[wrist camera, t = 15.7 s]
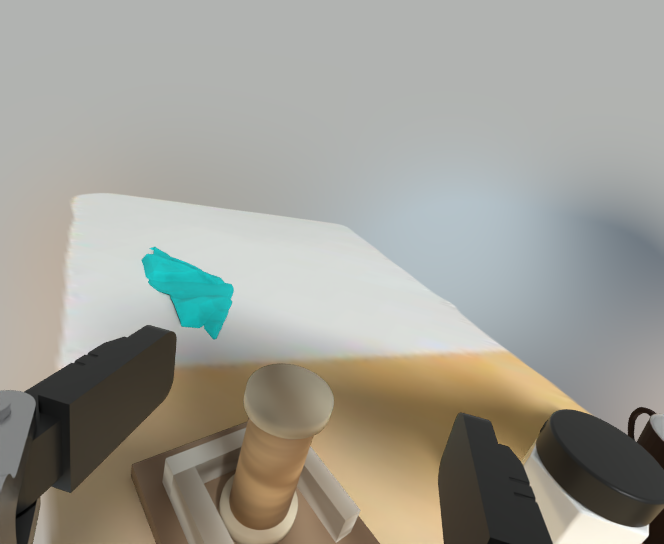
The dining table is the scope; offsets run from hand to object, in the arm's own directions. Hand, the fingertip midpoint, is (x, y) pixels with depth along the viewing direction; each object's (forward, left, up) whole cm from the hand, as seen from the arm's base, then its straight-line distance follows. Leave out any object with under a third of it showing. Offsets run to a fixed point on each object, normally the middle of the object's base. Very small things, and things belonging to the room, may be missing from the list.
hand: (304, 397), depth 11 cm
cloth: (-16, -42, -23) cm, 50 cm away
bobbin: (-7, -8, -21) cm, 23 cm away
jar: (-27, +6, -22) cm, 35 cm away
